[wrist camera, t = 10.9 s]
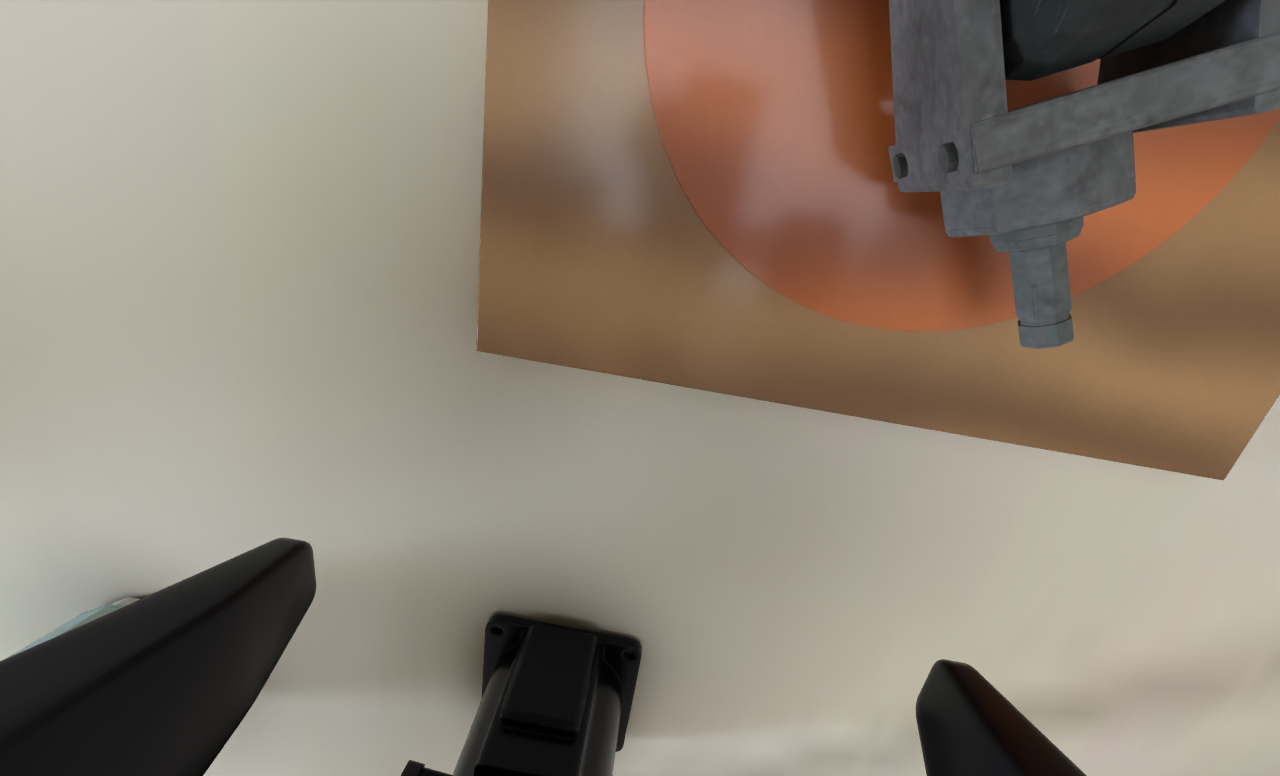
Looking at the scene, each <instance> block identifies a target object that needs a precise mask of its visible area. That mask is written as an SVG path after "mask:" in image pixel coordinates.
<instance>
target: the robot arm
mask: <svg viewBox="0 0 1280 776" xmlns="http://www.w3.org/2000/svg"><path fill="white" fill-rule="evenodd" d="M315 591H316V578H315V568H314V558H313V550H312V547H311V545H310V544H309V543H307V542H305V541H301V540H295V539H290V538H278V539H275V540H273V541H270V542H268V543H266V544H264V545H261V546H259V547H257V548H255V549H252V550H250V551H248V552H246V553H243V554H241V555H239V556H237V557H234V558H232V559H230V560H228V561H225V562H223V563H221V564H219V565H216V566H214V567H212V568H210V569H207V570H205V571H203V572H201V573H198V574H196V575H194V576H192V577H189V578H187V579H185V580H183V581H180V582H178V583H176V584H174V585H171V586H169V587H167V588H165V589H162V590H160V591H158V592H156V593H153V594H151V595H149V596H146V597H144V598H142V599H140V600H137V601H135V602H133V603H131V604H128V605H126V606H124V607H122V608H119V609H117V610H115V611H113V612H110V613H108V614H106V615H104V616H101V617H99V618H97V619H95V620H92V621H90V622H88V623H86V624H83V625H81V626H79V627H77V628H74V629H72V630H70V631H68V632H65V633H63V634H61V635H59V636H56V637H54V638H52V639H50V640H47V641H45V642H43V643H40V644H38V645H36V646H34V647H31V648H29V649H27V650H25V651H22V652H20V653H18V654H16V655H13V656H11V657H9V658H7V659H4V660H2V661H0V776H203V775H204V773H205V772H206V771H207V769H208V768H209V766H210V765H211V764H212V762H213V761H214V759H215V758H216V756H217V755H218V754H219V752H220V751H221V749H222V748H223V747H224V745H225V744H226V742H227V741H228V739H229V738H230V737H231V735H232V734H233V732H234V731H235V730H236V728H237V727H238V725H239V724H240V722H241V721H242V720H243V718H244V717H245V715H246V714H247V712H248V711H249V709H250V708H251V706H252V705H253V703H254V702H255V700H256V698H257V697H258V695H259V693H260V692H261V690H262V688H263V687H264V685H265V683H266V682H267V680H268V678H269V676H270V675H271V673H272V671H273V669H274V668H275V666H276V664H277V662H278V661H279V659H280V657H281V655H282V654H283V652H284V650H285V648H286V647H287V645H288V643H289V641H290V640H291V638H292V636H293V634H294V633H295V631H296V629H297V627H298V626H299V624H300V622H301V620H302V619H303V617H304V615H305V613H306V612H307V610H308V608H309V606H310V605H311V603H312V601H313V598H314V595H315ZM497 626H498V627H501V628H498V627H497ZM627 651H631V652H627ZM641 653H642V646H641V645H640V643H639V642H637V641H636V640H633V639H629V638H623V637H618V636H613V635H607V634H602V633H597V632H591V631H586V630H581V629H575V628H570V627H565V626H559V625H554V624H548V623H543V622H538V621H532V620H527V619H522V618H516V617H511V616H506V615H497V614H496V615H493V616H492V617H490V619H489V621H488V623H487V625H486V628H485V646H484V665H483V684H482V701H481V703H480V706H479V708H478V711H477V713H476V716H475V719H474V721H473V724H472V726H471V729H470V731H469V734H468V737H467V739H466V742H465V744H464V747H463V749H462V752H461V755H460V757H459V760H458V762H457V765H456V767H455V770H454V773H453V775H450V774H447V773H443V772H439V771H436V770H432V769H429V768H425V764H423V763H419V762H415V761H412V760H409V762H408V763H407V765H406V767H405V769H404V770H403V772H402V774H401V776H612V773H613V766H614V758H615V752H616V751H619V750H621V749H622V747H623V744H624V739H625V734H626V729H627V724H628V719H629V714H630V710H631V705H632V700H633V695H634V690H635V685H636V680H637V675H638V670H639V665H640V660H641ZM916 719H917V724H918V730H919V735H920V741H921V747H922V752H923V758H924V763H925V769H926V774H927V776H1086V775H1085V774H1084V773H1083V772H1082V771H1081V770H1080V769H1079V768H1078V767H1077V766H1076V765H1075V764H1074V763H1073V762H1072V761H1071V760H1070V759H1069V758H1068V757H1066V756H1065V755H1064V754H1063V753H1062V752H1061V751H1060V750H1059V749H1058V748H1057V747H1056V746H1055V745H1054V744H1053V743H1052V742H1051V741H1050V740H1049V739H1048V738H1047V737H1046V736H1045V735H1043V734H1042V733H1041V732H1040V731H1039V730H1038V729H1037V728H1036V727H1035V726H1034V725H1033V724H1032V723H1031V722H1030V721H1029V720H1028V719H1027V718H1026V717H1025V716H1024V715H1023V714H1022V713H1020V712H1019V711H1018V710H1017V709H1016V708H1015V707H1014V706H1013V705H1012V704H1011V703H1010V702H1009V701H1008V700H1007V699H1006V698H1005V697H1004V696H1003V695H1002V694H1001V693H1000V692H998V691H997V690H996V689H995V688H994V687H993V686H992V685H991V684H990V683H989V682H988V681H987V680H986V679H985V678H984V677H983V676H982V675H981V674H980V673H979V672H978V671H977V670H975V669H974V668H973V667H972V666H970V665H968V664H965V663H961V662H955V661H950V660H944V659H942V660H938V661H937V662H936V663H935V664H934V665H933V667H932V669H931V671H930V673H929V675H928V677H927V679H926V681H925V683H924V685H923V688H922V690H921V692H920V694H919V696H918V698H917V702H916Z"/></svg>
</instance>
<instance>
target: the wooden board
mask: <svg viewBox="0 0 1280 776" xmlns="http://www.w3.org/2000/svg"><path fill="white" fill-rule="evenodd" d="M1100 61H1101V59H1096V60H1095V61H1093V62H1091V63H1088V64H1084V65H1081V66H1078V67H1074V68H1071V69H1068V70H1065V71H1061V72H1058V73H1055V74H1052V75H1048V76H1045V77H1042V78H1039V79H1035V80H1032V81H1021V80H1005V81H1006V95H1007V108H1008V111H1010V110H1014V109H1017V108H1021V107H1024V106H1027V105H1031V104H1034V103H1037V102H1041V101H1044V100H1047V99H1051V98H1054V97H1057V96H1061V95H1064V94H1067V93H1071V92H1074V91H1077V90H1081V89H1084V88H1087V87H1091V86H1094V85H1097V81H1098V74H1099V68H1100ZM1133 142H1134V160H1135V177H1136V193H1135V195H1134V198H1133V199H1131V200H1129V201H1127V202H1124V203H1121V204H1118V205H1116V206H1113V207H1110V208H1107V209H1104V210H1101V211H1098V212H1095V213H1093V214H1090V215H1087V216H1084V217H1083V218H1084V226H1083V228H1082V230H1081V233H1080V235H1079V236H1078V237H1076V238H1074V239H1072V240H1069V241H1067V242H1066V249H1067V260H1068V271H1069V282H1070V293H1071V304H1072V308H1071V310H1070V313H1069V314H1071V317H1072V323H1073V334H1074V339H1073V341H1071V342H1069V343H1066V344H1064V345H1061V346H1059V347H1052V348H1043V349H1034V348H1027V347H1022V346H1021V345H1020V338H1019V330H1018V320H1019V318H1018V317H1017V315H1016V309H1015V300H1014V292H1013V283H1012V274H1011V266H1010V257H1009V253H1006V252H997V251H996V250H995V248H994V247H993V246H992V244H991V242H990V235H987V236H971V237H949V236H948V235H947V233H946V231H945V224H944V217H943V210H942V203H941V196H940V192H900V191H899V189H898V184H897V182H894V179H893V173H892V167H891V161H890V155H889V148H888V147H890V146H893V145H896V141H895V120H894V99H893V78H892V56H891V35H890V14H889V0H488V23H487V52H486V80H485V109H484V138H483V166H482V195H481V224H480V252H479V281H478V310H477V338H476V350H477V351H481V352H487V353H493V354H498V355H504V356H510V357H516V358H521V359H527V360H533V361H539V362H545V363H550V364H556V365H562V366H568V367H573V368H579V369H585V370H591V371H596V372H602V373H608V374H614V375H619V376H625V377H631V378H637V379H643V380H648V381H654V382H660V383H666V384H671V385H677V386H683V387H689V388H694V389H700V390H706V391H712V392H717V393H723V394H729V395H735V396H741V397H746V398H752V399H758V400H764V401H769V402H775V403H781V404H787V405H792V406H798V407H804V408H810V409H815V410H821V411H827V412H833V413H838V414H844V415H850V416H856V417H862V418H867V419H873V420H879V421H885V422H890V423H896V424H902V425H908V426H913V427H919V428H925V429H931V430H936V431H942V432H948V433H954V434H960V435H965V436H971V437H977V438H983V439H988V440H994V441H1000V442H1006V443H1011V444H1017V445H1023V446H1029V447H1034V448H1040V449H1046V450H1052V451H1058V452H1063V453H1069V454H1075V455H1081V456H1086V457H1092V458H1098V459H1104V460H1109V461H1115V462H1121V463H1127V464H1132V465H1138V466H1144V467H1150V468H1156V469H1161V470H1167V471H1173V472H1179V473H1184V474H1190V475H1196V476H1202V477H1207V478H1213V479H1219V480H1224V479H1225V478H1226V476H1227V475H1228V473H1229V471H1230V470H1231V468H1232V467H1233V465H1234V464H1235V462H1236V461H1237V459H1238V458H1239V456H1240V454H1241V453H1242V451H1243V450H1244V448H1245V447H1246V445H1247V444H1248V442H1249V441H1250V439H1251V438H1252V436H1253V434H1254V433H1255V431H1256V430H1257V428H1258V427H1259V425H1260V424H1261V422H1262V421H1263V419H1264V418H1265V416H1266V414H1267V413H1268V411H1269V410H1270V408H1271V407H1272V405H1273V404H1274V402H1275V401H1276V399H1277V397H1278V396H1279V394H1280V109H1276V110H1273V111H1269V112H1265V113H1261V114H1254V115H1248V116H1241V117H1235V118H1228V119H1222V120H1215V121H1209V122H1202V123H1196V124H1189V125H1183V126H1176V127H1170V128H1163V129H1157V130H1150V131H1144V132H1137V133H1133Z"/></svg>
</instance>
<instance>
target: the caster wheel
mask: <svg viewBox="0 0 1280 776" xmlns="http://www.w3.org/2000/svg"><path fill="white" fill-rule="evenodd" d="M889 14H890V35H891V56H892V78H893V99H894V120H895V141H896V145H893V146H890V147H888V148H889V155H890V161H891V167H892V173H893V179H894V182H897V184H898V189H899V191H900V192H940V196H941V203H942V210H943V217H944V224H945V231H946V233H947V235H948V236H949V237H971V236H987V235H990V242H991V244H992V246H993V247H994V248H995V250H996V251H997V252H1006V253H1009V257H1010V266H1011V274H1012V283H1013V292H1014V300H1015V309H1016V315H1017V317H1018V318H1019V320H1018V330H1019V338H1020V345H1021V346H1022V347H1027V348H1034V349H1043V348H1052V347H1059V346H1061V345H1064V344H1066V343H1069V342H1071V341H1073V339H1074V334H1073V323H1072V317H1071V314H1069V313H1070V310H1071V308H1072V304H1071V293H1070V282H1069V271H1068V260H1067V249H1066V242H1067V241H1069V240H1072V239H1074V238H1076V237H1078V236H1079V235H1080V233H1081V230H1082V228H1083V226H1084V218H1083V217H1084V216H1087V215H1090V214H1093V213H1095V212H1098V211H1101V210H1104V209H1107V208H1110V207H1113V206H1116V205H1118V204H1121V203H1124V202H1127V201H1129V200H1131V199H1133V198H1134V195H1135V193H1136V177H1135V160H1134V142H1133V133H1137V132H1144V131H1150V130H1157V129H1163V128H1170V127H1176V126H1183V125H1189V124H1196V123H1202V122H1209V121H1215V120H1222V119H1228V118H1235V117H1241V116H1248V115H1254V114H1261V113H1265V112H1269V111H1273V110H1276V109H1280V0H889ZM1096 59H1101V61H1100V68H1099V74H1098V81H1097V85H1094V86H1091V87H1087V88H1084V89H1081V90H1077V91H1074V92H1071V93H1067V94H1064V95H1061V96H1057V97H1054V98H1051V99H1047V100H1044V101H1041V102H1037V103H1034V104H1031V105H1027V106H1024V107H1021V108H1017V109H1014V110H1010V111H1008V108H1007V95H1006V81H1005V80H1021V81H1032V80H1035V79H1039V78H1042V77H1045V76H1048V75H1052V74H1055V73H1058V72H1061V71H1065V70H1068V69H1071V68H1074V67H1078V66H1081V65H1084V64H1088V63H1091V62H1093V61H1095V60H1096Z"/></svg>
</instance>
